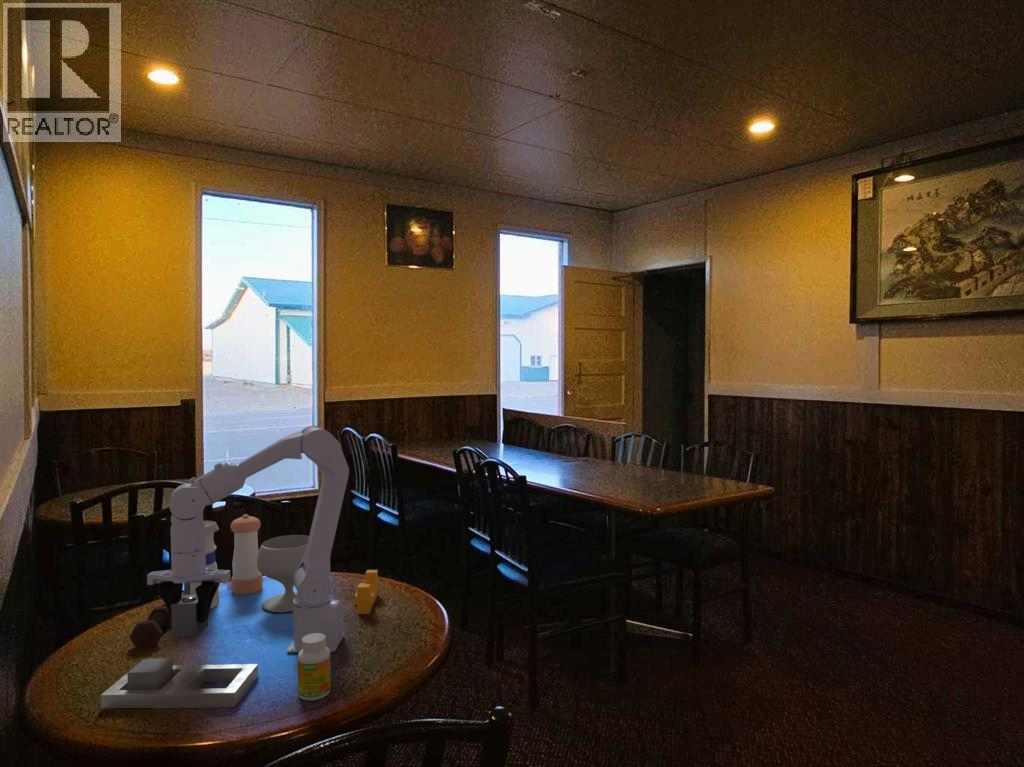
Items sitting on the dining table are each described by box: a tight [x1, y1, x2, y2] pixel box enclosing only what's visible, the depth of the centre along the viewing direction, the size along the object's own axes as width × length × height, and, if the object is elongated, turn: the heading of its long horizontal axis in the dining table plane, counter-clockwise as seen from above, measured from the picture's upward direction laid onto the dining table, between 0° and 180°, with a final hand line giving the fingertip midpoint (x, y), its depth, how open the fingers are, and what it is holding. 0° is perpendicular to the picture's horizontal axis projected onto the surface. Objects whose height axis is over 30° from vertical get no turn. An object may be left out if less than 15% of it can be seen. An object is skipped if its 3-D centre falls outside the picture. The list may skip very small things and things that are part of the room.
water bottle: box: [183, 520, 221, 610], centre depth 148 cm, size 8×9×25 cm
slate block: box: [126, 657, 174, 690], centre depth 109 cm, size 5×5×5 cm
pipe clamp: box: [354, 569, 379, 614], centre depth 148 cm, size 12×4×6 cm, turn 2°
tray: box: [100, 663, 259, 710], centre depth 109 cm, size 22×10×2 cm, turn 91°
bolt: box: [129, 604, 172, 649], centre depth 134 cm, size 6×5×15 cm
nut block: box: [171, 594, 209, 637], centre depth 117 cm, size 4×4×6 cm
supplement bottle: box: [297, 633, 332, 701], centre depth 108 cm, size 5×5×10 cm
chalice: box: [257, 534, 309, 613], centre depth 149 cm, size 14×14×15 cm
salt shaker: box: [230, 513, 263, 596], centre depth 158 cm, size 7×7×19 cm
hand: (190, 620), depth 117 cm, fingers closed on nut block, 4 cm apart
